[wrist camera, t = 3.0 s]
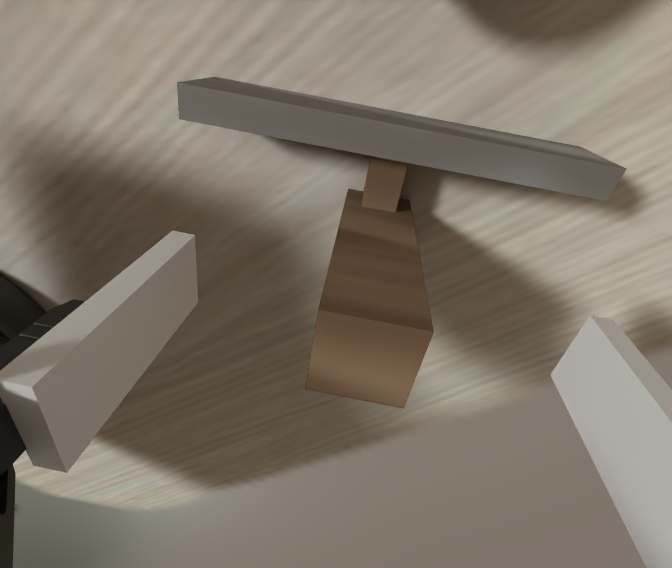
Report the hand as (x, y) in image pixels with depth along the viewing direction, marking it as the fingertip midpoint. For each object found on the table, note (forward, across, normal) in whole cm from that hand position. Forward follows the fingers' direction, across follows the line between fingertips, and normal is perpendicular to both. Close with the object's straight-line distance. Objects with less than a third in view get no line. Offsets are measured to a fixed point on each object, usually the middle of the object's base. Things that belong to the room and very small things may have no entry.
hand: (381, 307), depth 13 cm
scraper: (+7, +1, -2) cm, 7 cm away
